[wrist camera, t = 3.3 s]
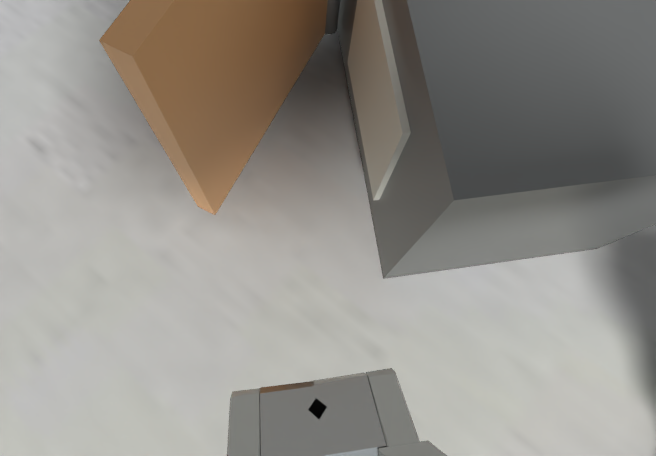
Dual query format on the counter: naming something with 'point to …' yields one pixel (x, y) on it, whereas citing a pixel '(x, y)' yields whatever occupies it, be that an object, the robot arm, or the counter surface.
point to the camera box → (502, 126)
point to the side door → (214, 76)
